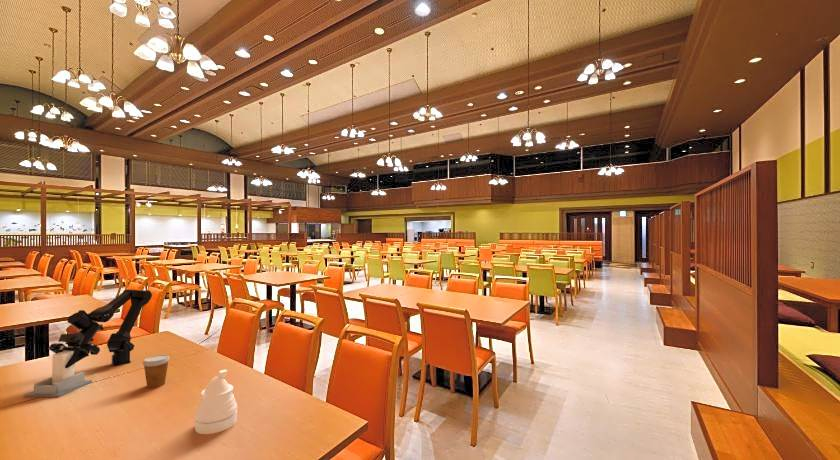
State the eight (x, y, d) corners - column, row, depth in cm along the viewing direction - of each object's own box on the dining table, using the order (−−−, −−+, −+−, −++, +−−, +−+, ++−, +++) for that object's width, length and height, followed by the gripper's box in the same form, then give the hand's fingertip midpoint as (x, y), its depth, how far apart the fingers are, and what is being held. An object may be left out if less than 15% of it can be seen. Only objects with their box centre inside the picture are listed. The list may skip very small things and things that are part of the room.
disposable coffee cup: (174, 380, 156) (175, 354, 156) (156, 390, 146) (157, 362, 146) (155, 379, 157) (155, 353, 157) (136, 389, 147) (136, 361, 147)
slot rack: (61, 382, 154) (61, 371, 154) (91, 382, 154) (92, 371, 154) (24, 396, 140) (25, 384, 140) (58, 397, 140) (59, 384, 140)
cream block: (64, 379, 151) (64, 350, 151) (74, 379, 151) (74, 350, 151) (52, 384, 146) (52, 354, 146) (62, 384, 146) (62, 354, 146)
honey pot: (228, 410, 130) (229, 363, 130) (243, 422, 122) (243, 371, 122) (189, 424, 120) (190, 373, 120) (202, 439, 112) (203, 384, 112)
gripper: (52, 325, 152) (23, 359, 141) (94, 325, 152) (68, 359, 141) (70, 337, 160) (44, 370, 149) (110, 337, 160) (86, 370, 149)
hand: (60, 367), depth 147 cm, fingers closed on cream block, 4 cm apart
